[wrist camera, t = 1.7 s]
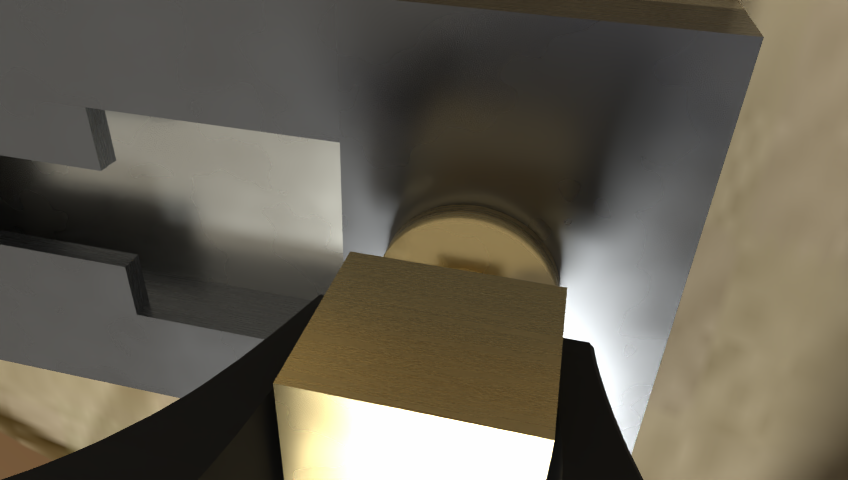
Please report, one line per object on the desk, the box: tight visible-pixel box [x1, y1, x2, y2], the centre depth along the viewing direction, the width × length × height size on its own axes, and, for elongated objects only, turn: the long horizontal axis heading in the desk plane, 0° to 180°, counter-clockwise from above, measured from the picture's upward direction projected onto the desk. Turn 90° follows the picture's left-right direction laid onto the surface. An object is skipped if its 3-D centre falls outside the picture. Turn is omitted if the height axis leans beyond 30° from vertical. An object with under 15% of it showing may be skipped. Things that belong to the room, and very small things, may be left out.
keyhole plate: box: [0, 0, 764, 454], centre depth 17 cm, size 21×12×3 cm, turn 88°
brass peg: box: [273, 204, 567, 480], centre depth 13 cm, size 4×4×6 cm
